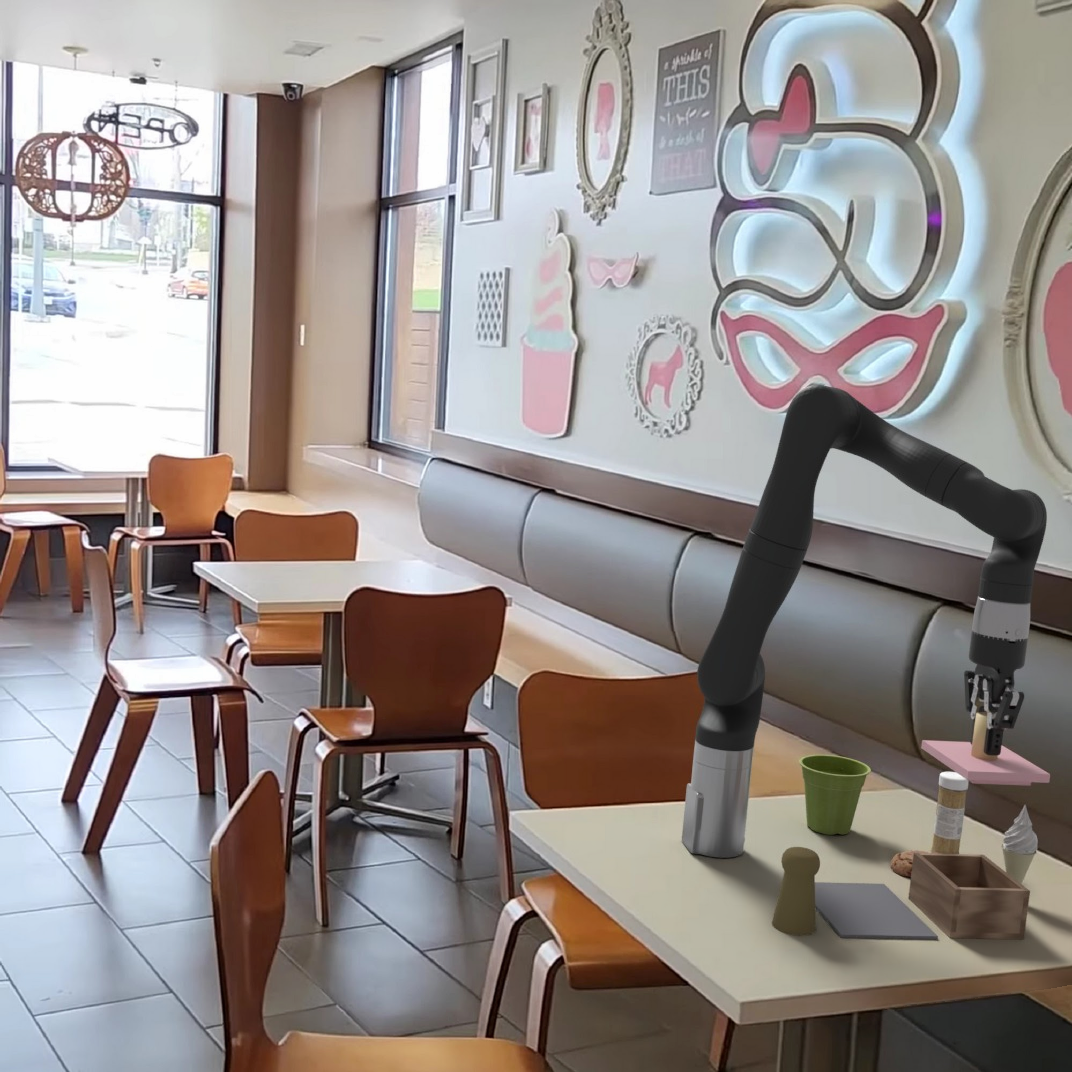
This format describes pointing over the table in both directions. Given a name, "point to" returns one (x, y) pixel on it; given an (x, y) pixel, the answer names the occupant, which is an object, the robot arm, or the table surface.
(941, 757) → the lid
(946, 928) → the box
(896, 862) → the cookie
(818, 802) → the plant pot
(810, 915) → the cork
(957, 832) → the sprinkles bottle
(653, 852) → the table surface
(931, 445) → the robot arm
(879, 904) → the mat
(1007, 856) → the ice cream cone
